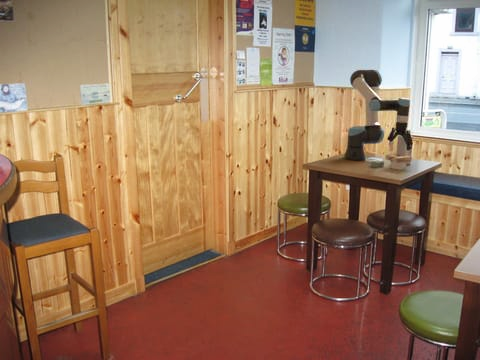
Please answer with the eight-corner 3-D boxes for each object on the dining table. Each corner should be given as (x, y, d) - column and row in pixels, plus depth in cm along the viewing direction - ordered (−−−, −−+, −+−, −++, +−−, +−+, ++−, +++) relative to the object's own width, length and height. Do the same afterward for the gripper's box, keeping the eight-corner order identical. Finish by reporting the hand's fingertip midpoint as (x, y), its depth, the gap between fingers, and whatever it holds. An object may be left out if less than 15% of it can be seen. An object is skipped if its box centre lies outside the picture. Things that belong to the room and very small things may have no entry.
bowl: (387, 167, 349) (388, 159, 347) (397, 166, 353) (398, 158, 352) (398, 170, 341) (398, 162, 339) (408, 168, 345) (408, 160, 344)
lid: (385, 159, 348) (385, 153, 347) (397, 157, 354) (398, 152, 353) (398, 162, 338) (399, 156, 337) (411, 161, 344) (411, 155, 343)
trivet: (370, 166, 352) (371, 161, 351) (377, 165, 355) (377, 160, 354) (377, 167, 347) (377, 162, 346) (383, 166, 350) (384, 162, 349)
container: (411, 165, 356) (413, 136, 351) (396, 164, 358) (398, 136, 353) (409, 162, 366) (412, 134, 361) (395, 161, 368) (397, 134, 363)
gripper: (383, 119, 348) (381, 149, 353) (412, 124, 327) (409, 157, 333) (391, 118, 351) (388, 148, 357) (420, 124, 331) (417, 155, 337)
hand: (398, 152), depth 345 cm, fingers open, 13 cm apart
